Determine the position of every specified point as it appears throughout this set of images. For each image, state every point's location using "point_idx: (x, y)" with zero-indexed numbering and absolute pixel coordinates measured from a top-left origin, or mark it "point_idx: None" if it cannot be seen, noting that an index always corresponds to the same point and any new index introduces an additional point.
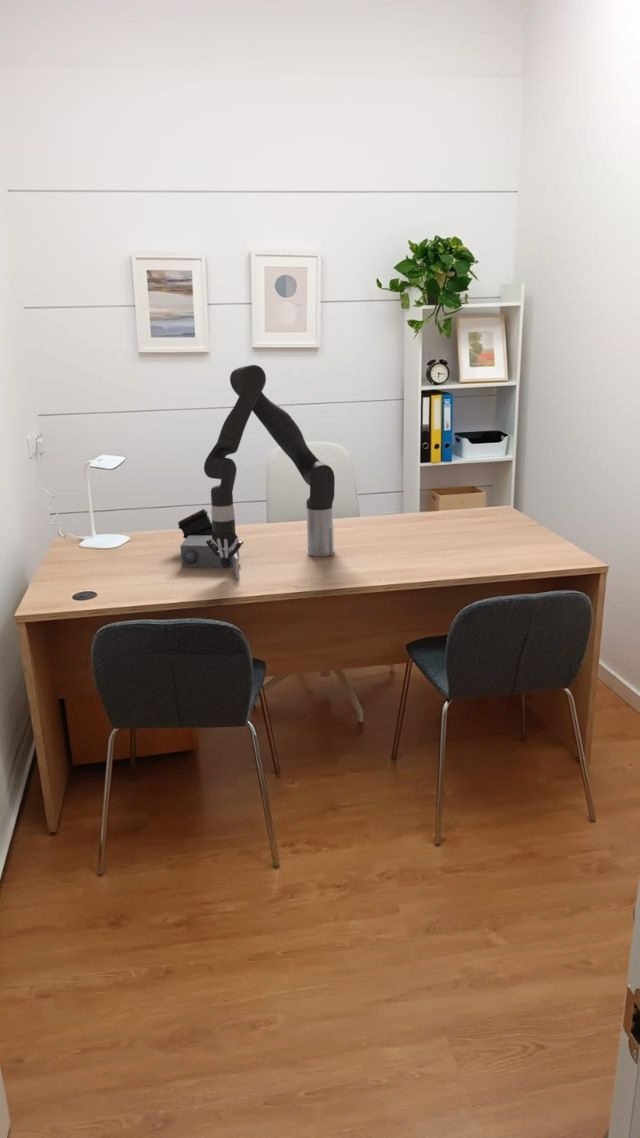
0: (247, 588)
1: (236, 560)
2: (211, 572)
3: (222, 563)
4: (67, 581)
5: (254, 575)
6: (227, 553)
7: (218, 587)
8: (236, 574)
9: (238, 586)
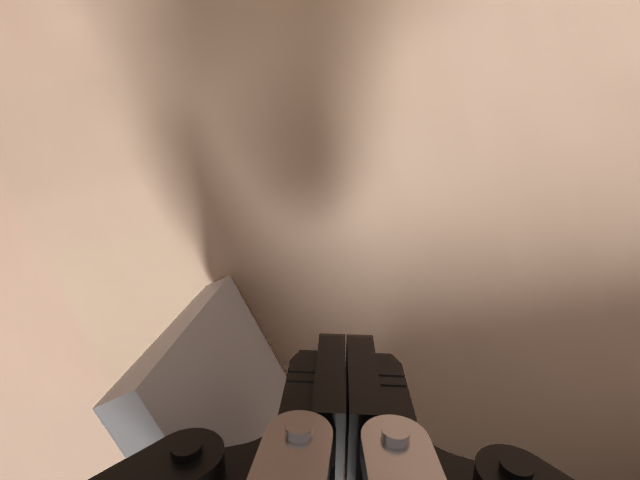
0: (31, 63)
1: (134, 379)
2: (526, 411)
3: (383, 373)
4: None
5: None
6: (263, 475)
7: (321, 27)
8: (215, 292)
9: (139, 101)
